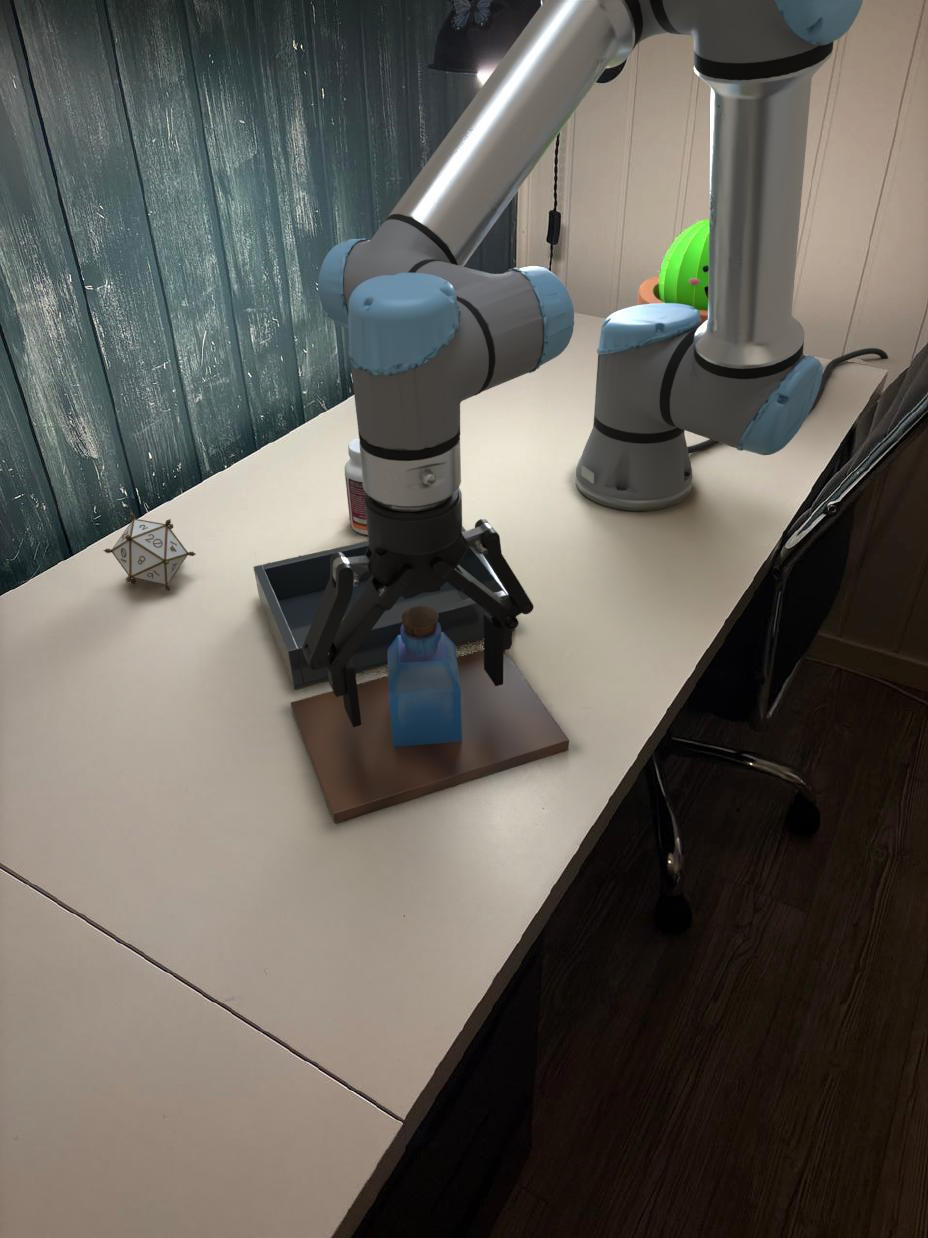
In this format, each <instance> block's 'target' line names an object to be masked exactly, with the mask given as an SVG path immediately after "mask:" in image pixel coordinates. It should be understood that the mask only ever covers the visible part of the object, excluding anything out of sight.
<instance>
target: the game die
mask: <svg viewBox="0 0 928 1238" xmlns="http://www.w3.org/2000/svg"><path fill="white" fill-rule="evenodd" d="M129 517H130V519H132V520H131V522H130V523H129V524H128V526H127V527H126V528H125V530H124V531H123V533H122V534H121V536H120V537H119V539H118V540H117V541H116V543H115V545H114V546H113V547H112V549H111V548H106V549H103V550H102V551H103V552H105V553H106V554H111V553H112V555H113V556H114V558H115V559H116V560H117V562H118V563H119V565H120V566H121V567H122V569H123V570H124V571H125V573H126V574H127V576H126V578H125V583H130V585H135V584H136V581H140V582H145V583H149V584H154V585H160V586H164V587H165V591H166V592H168V593H171V587H170V585H169V584H170V583H171V580H172V579H173V577H174V576H175V575H176V573H177V572H178V570H179V569H180V567H181V566H182V564H183V563H184V562H185V560H186V559H187V557H188V556H190V557H193V556H195V555H197V553H195V552H194V551H188V550H187V549H186V548H185V546H184V545H183V543H182V542H181V540H180V539H179V538H178V537H177V535H176V534H175V533H174V531H173V529H174V523H172V521H171V518H170V519H165V520H166V521H165V522H164V523H162V522H156V521H151V520H145V519H139V518H136V515H135V513H133V512H131V511H130V512H129Z"/></svg>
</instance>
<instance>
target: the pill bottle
mask: <svg viewBox="0 0 928 1238" xmlns="http://www.w3.org/2000/svg"><path fill="white" fill-rule="evenodd" d="M347 448H348V449H347V453H348V456H349V458H348V459H347V460H346V462H345V464H344V480H345V487H346V498H347V507H348V517H349V523H350V526H351V528H352V529H353V530H354V531H355V532H357V533H359V534H361V535H366V536H368V532H367V521H366V511H365V494H366V492H365V490H364V488H363V480H362V468H361V456H360V444H359V437H356V438H354V439H352V440H350V442H349V443H348V446H347Z"/></svg>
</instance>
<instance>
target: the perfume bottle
mask: <svg viewBox="0 0 928 1238" xmlns="http://www.w3.org/2000/svg"><path fill="white" fill-rule="evenodd" d="M438 617H439V615H438V613H437V612H436V611H435V610H434V609H432V608H430V607H426V606H416V607H412V608H409V609H407V610H406V611H405V612H404V613H403V614H402V617H401V619H402V622H403V624H402V626H401V635H398V636H397V637H396V639H395V640H394V641H393V643H392V644H391V646H390V647H389V648H388V650H387V655H388V665H387V676H388V685H389V703H390V714H391V725H392V737H393V747H397V746H410V745H424V744H437V743H451V742H462V718H461V688H460V680H459V672H458V664H457V657H458V656H457V650H456V649H457V648H456V646H455V645H454V644H453V643H452V641H451V640H450V639H449V638H448V637H447V636H446V635H445V634H444V633H443V632H441V626H440V624H439V622H438Z"/></svg>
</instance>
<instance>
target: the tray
mask: <svg viewBox="0 0 928 1238" xmlns="http://www.w3.org/2000/svg"><path fill="white" fill-rule="evenodd" d="M465 531H467V529H466V528H465V527H464V526H463V525H462V532H465ZM368 544H369V541H368V540H365V541H361V542H357V543H352V544H347V545H343V546H339V547H334V548H330V549H325V550H321V551H317V552H312V553H307V554H302V555H299V556H293V557H291V558H290V557H289V558H286V559H285V558H284V559H281V560H276V561H272V562H267V563H263V564H259V565H258V564H257V565H254V566H253V574H254V578H255V583H256V588H257V589H256V590H257V594H258V599H259V604H260V607H261V609H262V611H263V614H264V616H265V618H266V621H267V624H268V626H269V629H270V632H271V634H272V637H273V639H274V642H275V644H276V646H277V649H278V652H279V654H280V656H281V659H282V661H283V664H284V667H285V669H286V672H287V675H288V677H289V679H290V682H291V684H292V687H293V690H299V689H302V688H306V687H309V686H314V685H317V684H321V683H325V682H329V676H328V669H327V668H326V667H322V668H320V669H319V670H311V669H310V667H309V665H308V662H307V660H306V658H305V656H304V653H303V651H302V646H303V644H304V641H305V639H306V636H307V634H308V631H309V629H310V626H311V624H312V621H313V619H314V616H315V614H316V611H317V609H318V606H319V604H320V601H321V599H322V596H323V594H324V591H325V589H326V586H327V584H328V581H329V579H330V558H331V556H332V555H333V554H334V553H336V552H341V553H343V554H344V556H345V557H346V558H348V557H356V556H363V555H365V553H366V551H367V549H368ZM458 565H459V566H460V567H462V568H463V569H464V570H465V571H467V572H468V573H469V574H470V575H472V576H473V577H474V578H475V579H477V580H478V581H479V582H480V583H482V584H483V585H484V586H485V587H487V588H488V589H489V590H490V591H492V592H493V593H494V594H496V595H497V596H498V597H499V598H501V599H502V600H504V599H506V598H507V597H509V595H508V593H507V592H506V590H505V589H504V587H503V585H502V584H501V582H500V581H499V579H498V578H497V576H496V574H495V573H494V571H493V570H492V568H491V567H490V565H489V563H488V562H487V560H486V559H485V557H484V556H483V554H478V553H476V552H475V550H474V549H473V548H472V547H468V549H467V552H466V554H465V555H464V557H463V558H462V560H461V561H460V563H459V564H458ZM370 576H371V574H370V572H365V573H364V574H362V576H361V578H360V581H359V585H358V586H356V587H355V586H353V592H352V597H351V600H350V602H349V605H348V607H347V609H346V612H345V614H344V617H343V619H342V621H343V620H344V618H345V617H346V616H347V614H348V613H349V611H350V610H351V609H352V607H353V606H354V604H355V603H356V602H357V600H358V599H359V597H360V596H361V595H362V593H363V592H364V590H365V586H366V582H367V581H368V579H369V578H370ZM383 588H384V590H386V587H385V586H383ZM416 606H426V607H430V608H432V609H434V610H435V611H436V612H437V613H438V615H439V617H438V622H439V624H440V626H441V632H443V633H444V634H445V635H446V636H447V637H448V638H449V639H450V640H451V641H452V643H453V644H454V645H455V647H458V646H462V645H465V644H470V643H474V642H477V641H481V640H484V613H487V611H486V610H485V609H484V608H482V607H481V606H480V605H478V604H477V603H476V602H474V601H473V600H472V599H471V598H469V597H468V596H467V595H465V594H464V593H463V592H460V591H458V590H457V589H456V588H454V587H453V586H452V585H450V584H449V583H448V582H446V584H444V585H443V586H442V587H440V590H439V591H435V592H423V593H421V594H419V595H416V596H414V597H411V598H407V599H405V598H404V597H403V596H400V597H399V599H398V600H397V601H396V603H395V604H394V606H393V607H392V608H391V609H390V610H386V611H385V612H384V613H383V615H382V616H381V617H380V619H379V620H378V621H377V623H376V624H375V626H374V627H373V628H372V630H371V631H370V632H369V634H368V635H367V636H366V638H365V639H364V641H363V642H362V643H361V645H360V646H359V647H358V649H357V650H356V652H355V653H354V654H353V656H352V657H351V658H350V659H351V661H352V663H353V665H354V667H355V674H358V673H361V672H366V671H369V670H373V669H377V668H380V667H384V666H388V655H387V650H388V648H389V647H390V646H391V644H392V643H393V641H394V640H395V639H396V637H397V636H398V635H401V626H402V624H403V622H402V619H401V617H402V614H403V613H404V612H405V611H406V610H407V609H409V608H412V607H416ZM342 621H341V623H342ZM515 631H516V628H515V629H513V630H512V632H515Z"/></svg>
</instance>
